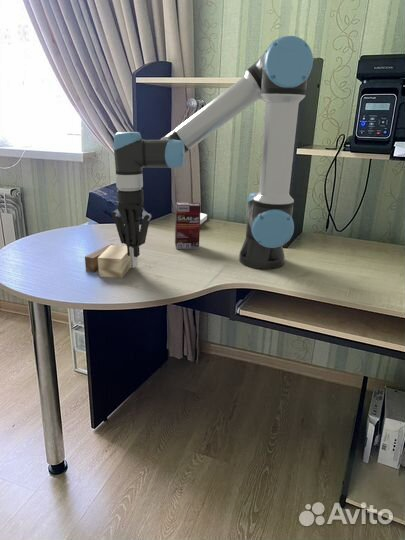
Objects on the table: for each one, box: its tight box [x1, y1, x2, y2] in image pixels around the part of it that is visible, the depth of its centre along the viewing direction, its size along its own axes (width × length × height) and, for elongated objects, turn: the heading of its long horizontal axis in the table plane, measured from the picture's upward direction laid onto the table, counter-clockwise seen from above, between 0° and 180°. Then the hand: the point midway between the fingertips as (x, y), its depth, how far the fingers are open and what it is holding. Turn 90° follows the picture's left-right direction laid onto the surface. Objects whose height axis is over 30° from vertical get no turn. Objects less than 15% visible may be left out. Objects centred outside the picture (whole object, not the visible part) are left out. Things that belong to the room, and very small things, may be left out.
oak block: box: [98, 244, 131, 279], centre depth 128 cm, size 7×12×6 cm, turn 174°
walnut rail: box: [84, 243, 120, 273], centre depth 132 cm, size 3×14×4 cm, turn 158°
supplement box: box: [174, 202, 202, 250], centre depth 149 cm, size 9×5×16 cm, turn 97°
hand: (134, 266), depth 128 cm, fingers closed
